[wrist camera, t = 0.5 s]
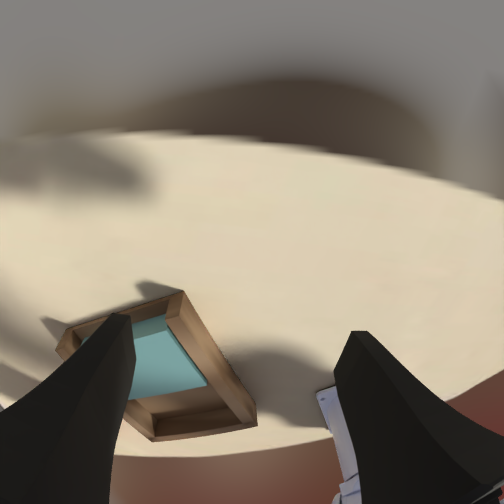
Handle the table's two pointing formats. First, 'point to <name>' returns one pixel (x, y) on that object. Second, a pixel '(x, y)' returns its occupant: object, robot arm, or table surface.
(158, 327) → the cover plate
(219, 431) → the walnut box
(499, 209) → the table surface
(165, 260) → the table surface
